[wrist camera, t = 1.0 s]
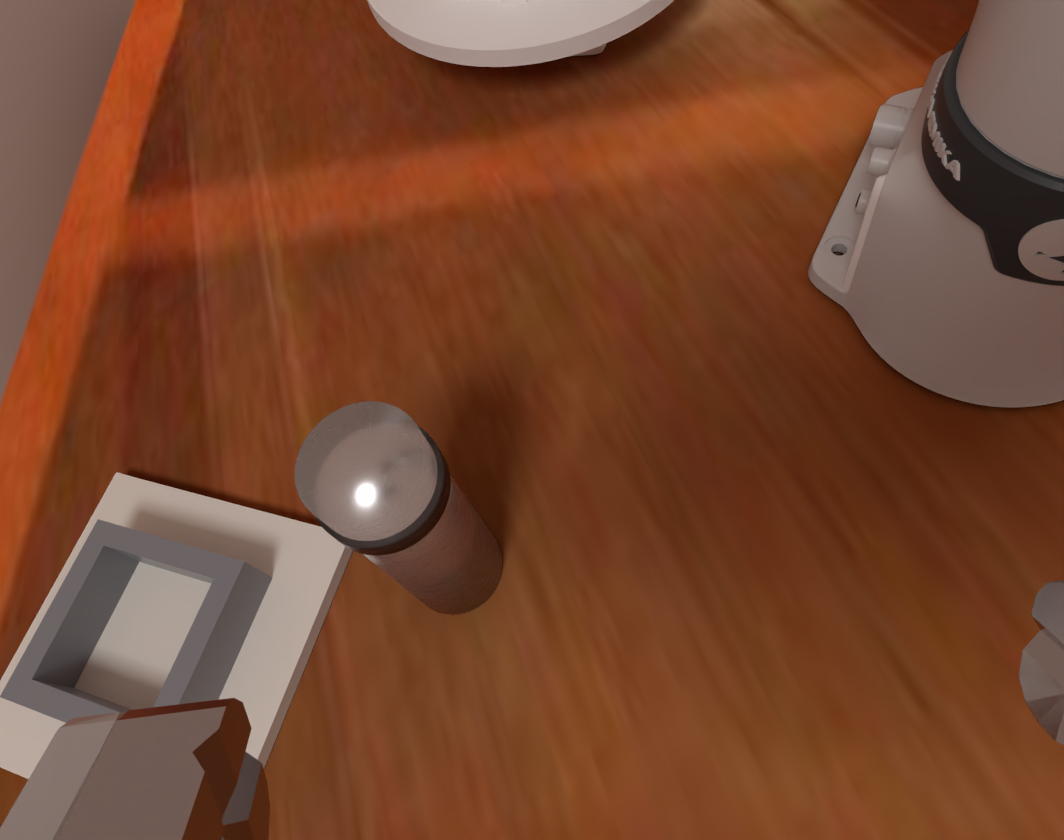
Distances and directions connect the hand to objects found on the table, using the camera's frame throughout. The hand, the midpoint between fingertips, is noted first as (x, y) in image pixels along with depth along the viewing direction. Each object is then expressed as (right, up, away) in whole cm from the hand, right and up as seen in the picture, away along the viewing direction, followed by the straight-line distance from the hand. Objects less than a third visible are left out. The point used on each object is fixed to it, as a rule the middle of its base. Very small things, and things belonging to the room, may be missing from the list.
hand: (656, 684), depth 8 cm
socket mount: (-21, -9, +34) cm, 41 cm away
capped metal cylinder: (-5, -5, +33) cm, 34 cm away
